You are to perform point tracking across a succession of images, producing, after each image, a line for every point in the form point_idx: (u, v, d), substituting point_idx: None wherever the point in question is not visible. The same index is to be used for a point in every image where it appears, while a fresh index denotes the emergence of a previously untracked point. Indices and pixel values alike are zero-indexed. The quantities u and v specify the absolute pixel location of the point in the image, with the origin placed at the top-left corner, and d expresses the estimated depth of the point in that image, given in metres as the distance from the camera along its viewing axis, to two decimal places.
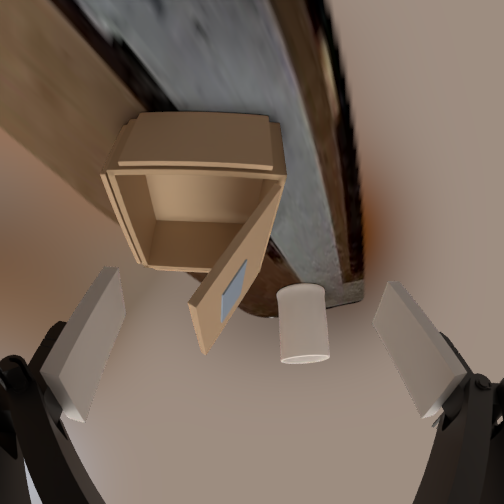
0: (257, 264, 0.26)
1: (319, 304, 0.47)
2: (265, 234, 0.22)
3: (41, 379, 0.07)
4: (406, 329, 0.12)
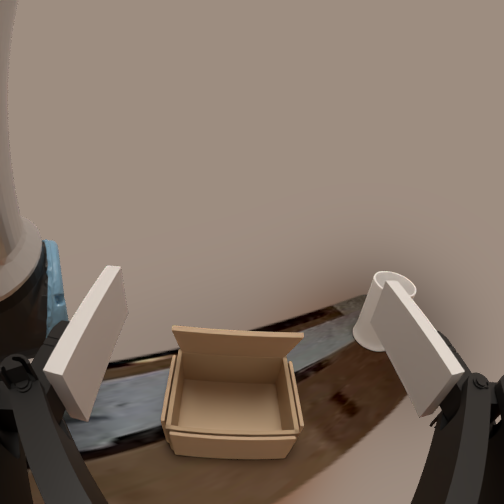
0: None
1: None
2: None
3: (44, 378, 0.07)
4: (404, 328, 0.12)
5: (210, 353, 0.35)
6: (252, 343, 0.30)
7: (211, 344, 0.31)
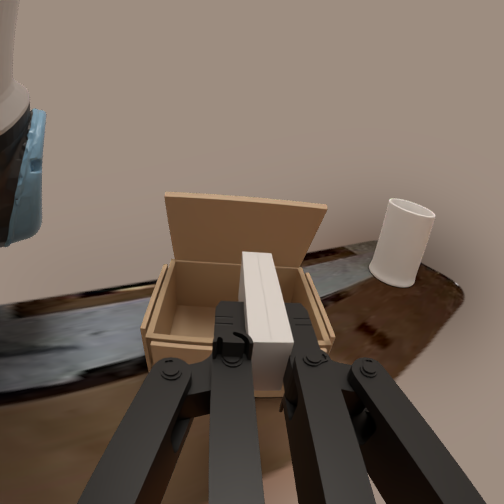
0: None
1: (376, 248, 0.45)
2: None
3: None
4: None
5: (210, 259, 0.30)
6: (264, 223, 0.25)
7: (212, 231, 0.26)
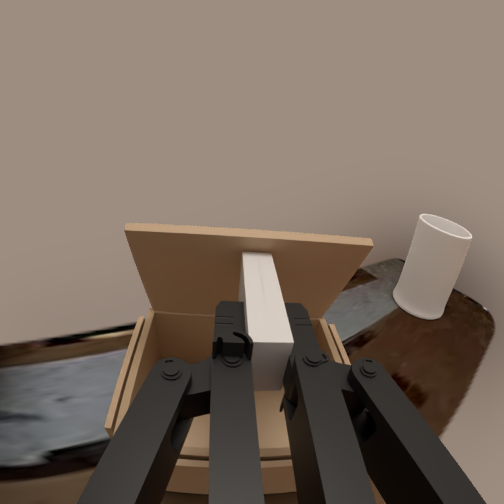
0: None
1: (401, 273, 0.37)
2: None
3: None
4: None
5: (200, 310, 0.21)
6: (278, 268, 0.17)
7: (201, 279, 0.17)
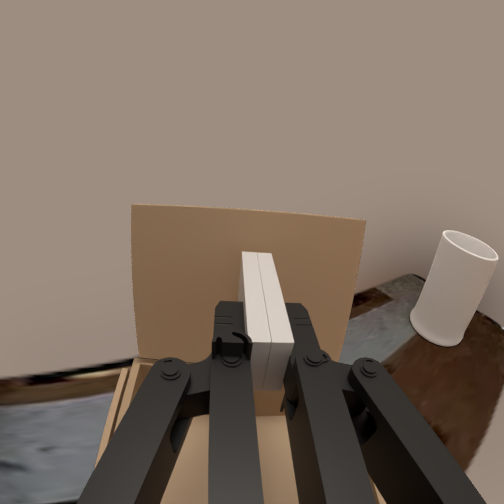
0: None
1: (420, 296, 0.32)
2: None
3: None
4: None
5: (195, 354, 0.17)
6: (280, 260, 0.16)
7: (198, 284, 0.16)
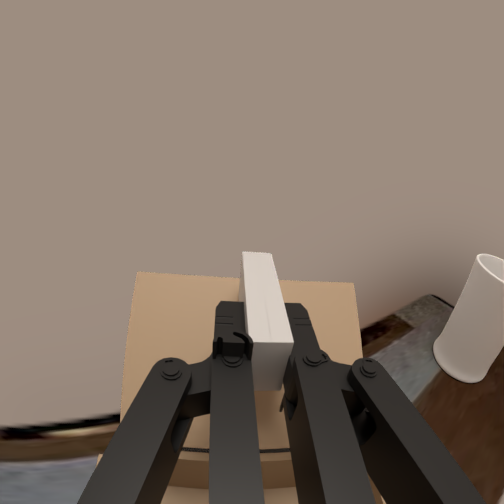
0: None
1: (447, 328, 0.26)
2: None
3: None
4: None
5: (190, 436, 0.12)
6: None
7: (197, 349, 0.14)
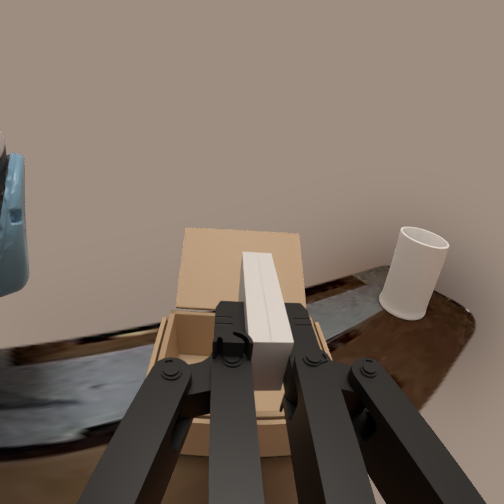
0: None
1: (386, 280, 0.43)
2: None
3: None
4: None
5: (212, 302, 0.29)
6: (258, 250, 0.32)
7: (217, 261, 0.31)
